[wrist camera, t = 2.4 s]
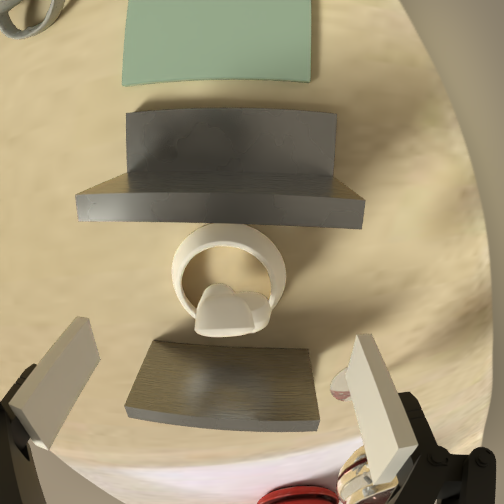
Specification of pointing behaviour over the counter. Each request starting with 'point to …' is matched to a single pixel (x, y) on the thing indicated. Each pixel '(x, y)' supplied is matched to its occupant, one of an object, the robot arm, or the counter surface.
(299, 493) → the plant pot
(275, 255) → the white curved piece
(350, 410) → the counter surface
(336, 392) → the wineglass
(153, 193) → the dark grey bookends
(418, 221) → the counter surface
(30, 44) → the counter surface
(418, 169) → the counter surface
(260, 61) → the mat
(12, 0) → the ceramic mug
